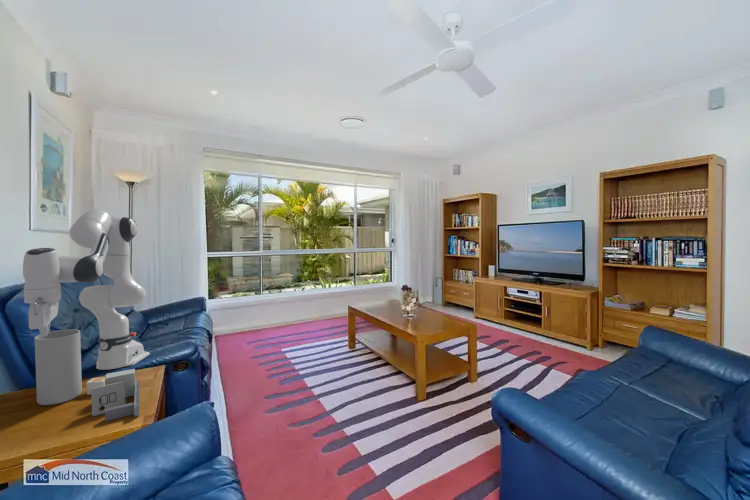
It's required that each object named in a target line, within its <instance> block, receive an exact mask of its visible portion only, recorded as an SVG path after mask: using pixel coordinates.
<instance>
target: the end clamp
mask: <svg viewBox="0 0 750 500" xmlns="http://www.w3.org/2000/svg"><path fill="white" fill-rule="evenodd" d="M132 415H133V416H134V401H133V402H129V403H125V404H124V405H120V406H115V407H111V408H107V409H105V413H104V422H109V421H113V420H117V419H120V418H124V417H128V416H132Z"/></svg>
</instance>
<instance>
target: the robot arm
mask: <svg viewBox="0 0 750 500" xmlns="http://www.w3.org/2000/svg"><path fill="white" fill-rule="evenodd" d="M137 232H138V225H137V222H136V221H135V220H134V218H131V217H127V216H124V217H121V216H111V215H110V214H109V213H108V212H107V211H104V210H102V209H97V208H96V209H94V208H93V209H91V210H88V211H87V212H85V213H83V214H82V215H81V216H80V217H79V218H78V219H77V220H75V222H74V223H72V226H70V229H69V236H70V238H71V241H73V242H74V243H75V244H76V245H78V246H79V247H83V248H85V249H90V253H89V254H86V255H72V256H71V255H70V256H69V255H66V256H65V255H60V254H58V251H57V249H55V248H53V247H38V248H32V249H29V250H27V251H26V252H25V253H24V255H23V260H22V275H23V279H24V286H23V298H24V299H23V300H24V301H23V302H24V304H29V308H28V328H29V330H30V331H31V330H38V331H39V335H40V336H41V337H44V336H47V335H48V334H49V333H50V332H51V331H50V330H51V329H50V327H51V322H52V321H53V320H54V319H55V318H56V317H57V316H58V313H59V307H60V306H59V305H60V304H59V303H60V300H61V299H62V290H61V289H62V288H61V287H62V286H61V283H89V284H90V283H94V282H96V281H97V280H99V279H100V278H101V277H102V276H103V275H104V276H105V277H107V278H110V279H112V280H113V282H114V284H98V285H97V284H96V285H92V286H86V287H84V288H83V289H82V290H81V292H80V293H79V296H78V301H79V303H80V305H81V306H82V307H84V308H85V309H87V310H89V311H90V312H91V313H92V315H94V316H95V318H96V319H97V321H98V329H99V337H98V346H99V348H98V353H97V354H98V355H97V361H96V362H95V363H96V364H95V365H96V367H95V368H96V369H97V370H101V371H102V370H103V371H104V370H105V371H106V370H113V369H114V370H115V369H121V368H123V367H129V366H134V365H136V364H138V363H139V362H140V361H142V360H144V359H145V358H146V357H148V356H149V355H151V354H150V352H149V351H145V348H144V345H143V344H142V343H141V342H139V341H137V340H135V339H133V337H136V336H137V332H133V331H132V332H130V327H129V323H130V321H129V320H130V319H129V318H128V317H127V316H126V315H125V314H122V313H119V312H118V311H117V310H116V309H115V308H127V307H128V308H129V307H130V308H131V307H135V306H138V305H141V304H143V303H144V301H145V299H146V297H147V292H146V289H145V288H144V287H143V286H142V285H141V284H139V283H138V282H137V281H136V280H135V279H134V278H133V276H132V274H131V273H132V272H131V247H130V242H131V240H133V239H134V238H135V237H136V235H137V234H138V233H137Z"/></svg>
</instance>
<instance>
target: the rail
mask: <svg viewBox="0 0 750 500" xmlns="http://www.w3.org/2000/svg"><path fill="white" fill-rule="evenodd" d="M140 383H141V382H140V380H138V379H135V393H134V398H133V402H134V414H133V418H137V417H140V404H141V402H140V401H141V399H140V398H141V397H140V395H141V387H140V386H141V384H140Z"/></svg>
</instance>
